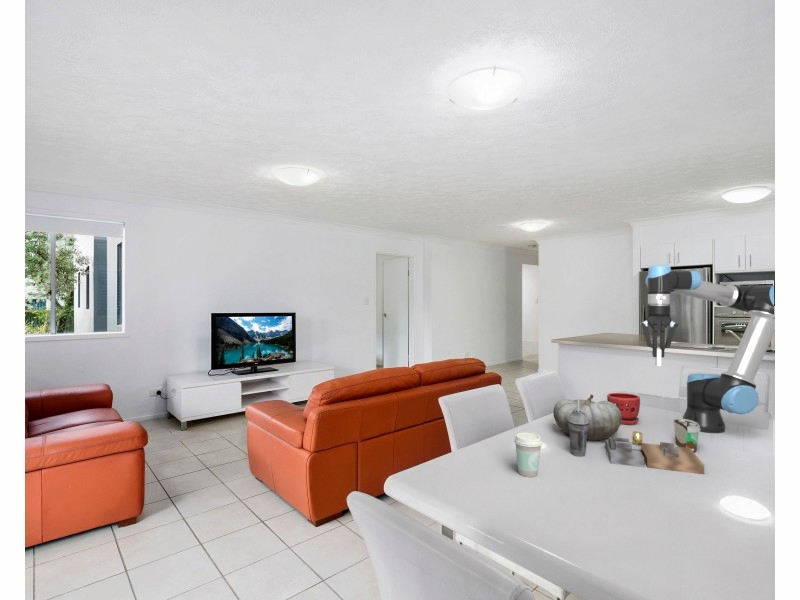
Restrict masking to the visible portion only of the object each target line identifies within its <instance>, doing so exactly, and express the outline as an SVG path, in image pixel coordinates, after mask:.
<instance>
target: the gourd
mask: <svg viewBox="0 0 800 600" xmlns="http://www.w3.org/2000/svg"><path fill="white" fill-rule="evenodd" d="M593 398H594V394H589V397H588V398H586V399H579V411H582V412H584V413H585V414H586V415H587V417H588V419H589V428H588V432H587V441H593V442H594V441H601V440H602V439H609V437H613V435H615V434H617V432H618V430H619V429H620V426H621V425H622V424H621V420H622V416H621V412H620V410H619V409H618V407H617V406H616V404H613V403H611V402H609V401H607V400H601V401H598V402H595V401H593ZM573 411H578V399H565V398H564V399H560V400H558V401H557V402H556V403H555V404H554V408H553V411H552V413H553V415H552V416H553V418H554V421H555V424H556V425H557V426H558V428H559V429H560V430H561V431H562V432H563V433H565V434H566V435H569V436H570V433H569V426H568V417H569V415H570V414H571V413H572V412H573Z"/></svg>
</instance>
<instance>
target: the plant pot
mask: <svg viewBox="0 0 800 600" xmlns="http://www.w3.org/2000/svg"><path fill="white" fill-rule="evenodd" d="M606 401H609V402H611V403H613V404H615V405H616V406H617V407H618V409H619V410H620V412H621V416H622V420H621V424H620V425H636V424H637V423H639V421H640V419H639V418H638V416H639V413H640V408H641V397H640V395H637V394H632V393H628V392H627V393H626V392H612V393H608V394H607V395H606Z"/></svg>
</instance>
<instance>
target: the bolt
mask: <svg viewBox="0 0 800 600" xmlns="http://www.w3.org/2000/svg"><path fill="white" fill-rule="evenodd" d="M615 442H618V443H628V444H631V445H632V449H636V450H641V446H642V443H643V432H640V431H637V430H636V431H632V442H633V443H630V442H631V441H629V442H620V441H615Z"/></svg>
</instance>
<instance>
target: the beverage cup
mask: <svg viewBox="0 0 800 600" xmlns="http://www.w3.org/2000/svg"><path fill="white" fill-rule="evenodd" d="M577 400H578V411H573V412H572V413H571V414H570V415H569V417H568V426H569V433H570V435H569V442H570V451H571V452H570V453H571V455H573V456H574V457H578V458H581V457H582V458H583V457H585V456H586V450H587V441H588V439H587V432H588V428H589V419H588V417H587V415H586V414H585V413H584V412H582V411H579V400H580V399H577Z"/></svg>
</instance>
